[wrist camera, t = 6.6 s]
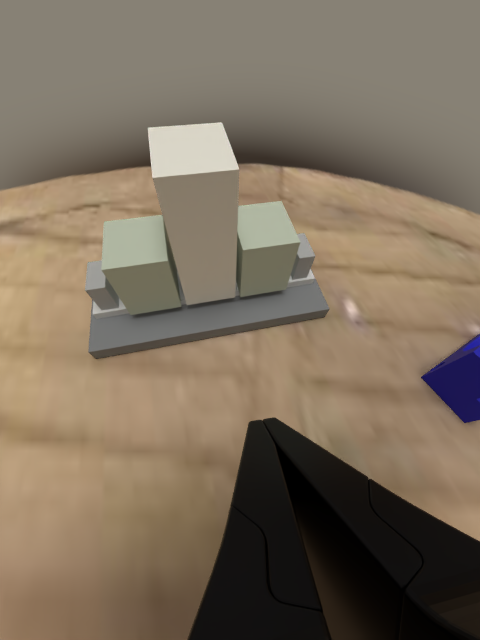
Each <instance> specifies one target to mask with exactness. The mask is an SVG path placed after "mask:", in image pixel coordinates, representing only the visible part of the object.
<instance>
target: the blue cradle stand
mask: <svg viewBox="0 0 480 640" xmlns="http://www.w3.org/2000/svg"><path fill="white" fill-rule="evenodd" d="M421 378H422V379H423V380H424V381H425V382H426V383H427V384H428V385H429V386H430V387H431V388H432V389H433V390H434V391H435V392H436V394H437V395H438V396H439V397H440V398H441V399H442V400H443V401H444V402H445V403H446V404H447V405H448V406H449V407H450V408H451V409H452V410H453V411H454V412H455V413H456V415H457V416H458V417H459V418H460V419H461V420H462V421H463V422H464V423H467V422H472V421H476V420H480V334H479V335H477V336H476V337H475V338H473V339H472V340H471V341H469V342H468V343H467V344H465V345H464V346H462V347H461V348H460V349H458V350H457V351H456V352H454V353H453V354H452V355H450V356H449V357H448V358H446V359H445V360H444V361H442V362H441V363H440V364H438V365H437V366H435V367H434V368H433V369H431V370H430V371H429V372H427V373H426V374H425V375H423V376H422V377H421Z"/></svg>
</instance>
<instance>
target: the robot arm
mask: <svg viewBox="0 0 480 640" xmlns="http://www.w3.org/2000/svg"><path fill="white" fill-rule="evenodd" d="M187 640H480V541H478V540H476V539H474V538H472V537H470V536H469V535H467V534H465V533H463V532H461V531H459V530H458V529H456V528H454V527H452V526H450V525H448V524H447V523H445V522H443V521H441V520H439V519H437V518H436V517H434V516H432V515H430V514H428V513H427V512H425V511H423V510H421V509H420V508H418V507H416V506H414V505H413V504H411V503H409V502H407V501H406V500H404V499H402V498H401V497H399V496H397V495H396V494H394V493H393V492H391V491H389V490H388V489H386V488H384V487H383V486H381V485H380V484H378V483H377V482H375V481H374V480H372V479H369V480H368V477H367V476H366V475H364V474H362V473H361V472H359V471H358V470H356V469H355V468H353V467H352V466H350V465H348V464H347V463H345V462H344V461H342V460H341V459H339V458H337V457H336V456H334V455H333V454H331V453H330V452H328V451H327V450H325V449H323V448H322V447H320V446H319V445H317V444H316V443H314V442H313V441H311V440H309V439H308V438H306V437H305V436H303V435H302V434H300V433H299V432H297V431H295V430H294V429H292V428H291V427H289V426H288V425H286V424H284V423H283V422H281V421H280V420H278V419H277V418H268V419H264V420H263V421H262V420H255V421H250V422H249V424H248V429H247V433H246V438H245V442H244V447H243V451H242V456H241V460H240V465H239V470H238V474H237V479H236V483H235V488H234V492H233V497H232V501H231V507H230V510H229V514H228V519H227V523H226V527H225V531H224V534H223V538H222V542H221V546H220V549H219V552H218V555H217V558H216V561H215V564H214V567H213V570H212V573H211V576H210V579H209V581H208V584H207V587H206V590H205V592H204V595H203V598H202V601H201V603H200V606H199V609H198V612H197V614H196V617H195V620H194V623H193V626H192V628H191V631H190V634H189V637H188V639H187Z"/></svg>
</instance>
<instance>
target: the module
mask: <svg viewBox="0 0 480 640" xmlns="http://www.w3.org/2000/svg"><path fill="white" fill-rule="evenodd" d="M148 135H149V146H150V156H151V167H152V177H153V181H154V185H155V189H156V192H157V196H158V200H159V204H160V207H161V211H162V215H163V218H164V222H165V226H166V230H167V233H168V237H169V241H170V244H171V248H172V252H173V255H174V259H175V263H176V267H177V270H178V274H179V278H180V281H181V285H182V289H183V293H184V296H185V300H186V304H187V305H191V304H197V303H203V302H210V301H216V300H222V299H228V298H234V297H235V290H236V258H237V226H238V194H239V167H238V165H237V162H236V159H235V157H234V154H233V151H232V148H231V146H230V143H229V141H228V138H227V135H226V132H225V130H224V127H223V124H222V123H208V124H194V125H182V126H181V125H180V126H166V127H154V128H153V127H152V128H148Z"/></svg>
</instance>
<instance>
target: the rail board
mask: <svg viewBox="0 0 480 640" xmlns="http://www.w3.org/2000/svg"><path fill="white" fill-rule="evenodd" d="M314 258H315V254H314V252H313V250H312V248H311V246H310V244H309V242H308V240H307V238H306V236H305V234H304V233H301V234H296V231H295V229H294V227H293V225H292V223H291V221H290V219H289V216H288V214H287V212H286V210H285V208H284V206H283V204H282V201H277V202H269V203H260V204H252V205H243V206H238V226H237V258H236V290H235V297H234V298H228V299H222V300H216V301H210V302H203V303H197V304H191V305H187V304H186V300H185V296H184V293H183V289H182V285H181V281H180V278H179V274H178V270H177V267H176V263H175V259H174V256H173V252H172V248H171V244H170V241H169V237H168V233H167V230H166V226H165V222H164V218H163V215H157V216H148V217H140V218H131V219H123V220H114V221H106V222H104V231H103V249H102V261H94V262H88V265H87V276H86V287H85V291H86V292H87V293H88V294H89V296H90V297H91V298H92V310H91V324H90V338H89V353H90V354H91V355H92V356H94V357H95V358H96V359H98V358H104V357H109V356H114V355H120V354H125V353H131V352H136V351H142V350H147V349H153V348H158V347H163V346H169V345H174V344H180V343H185V342H191V341H196V340H202V339H207V338H213V337H218V336H223V335H229V334H234V333H240V332H245V331H251V330H256V329H262V328H267V327H272V326H278V325H283V324H289V323H294V322H300V321H305V320H311V319H316V318H321V317H325V315H326V314H327V312H328V311H329V307H328V305H327V303H326V300H325V298H324V296H323V294H322V292H321V290H320V287H319V285H318V283H317V281H316V279H315V277H314V274H313V272H312V270H311V266H312V264H313V261H314Z"/></svg>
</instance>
